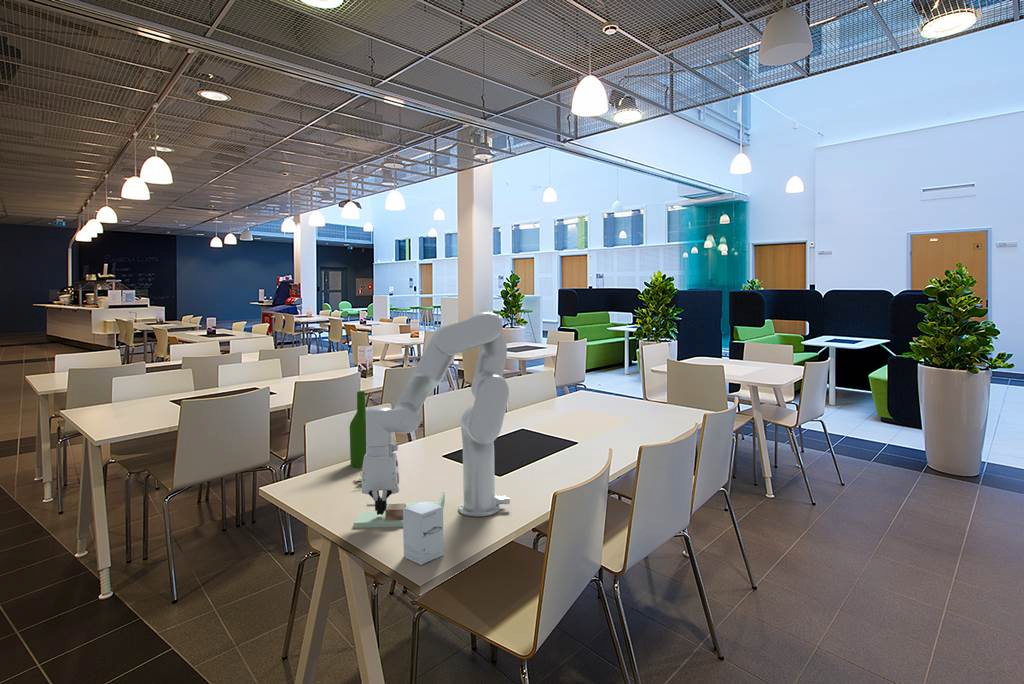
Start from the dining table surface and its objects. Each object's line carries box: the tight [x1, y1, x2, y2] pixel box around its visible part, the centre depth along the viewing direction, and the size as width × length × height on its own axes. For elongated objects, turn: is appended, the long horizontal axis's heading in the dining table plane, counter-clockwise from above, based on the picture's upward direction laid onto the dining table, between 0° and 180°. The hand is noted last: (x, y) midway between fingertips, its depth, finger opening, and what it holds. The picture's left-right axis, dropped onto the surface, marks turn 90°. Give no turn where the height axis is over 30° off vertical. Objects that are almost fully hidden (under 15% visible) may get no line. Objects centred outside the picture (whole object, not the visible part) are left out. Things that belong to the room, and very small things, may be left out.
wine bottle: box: [349, 390, 367, 469], centre depth 203 cm, size 9×9×32 cm
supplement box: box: [402, 500, 445, 566], centre depth 132 cm, size 7×7×13 cm
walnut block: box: [385, 502, 406, 520], centre depth 153 cm, size 5×5×3 cm
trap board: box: [353, 491, 446, 529], centre depth 157 cm, size 24×16×6 cm, turn 92°
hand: (380, 512), depth 153 cm, fingers closed
